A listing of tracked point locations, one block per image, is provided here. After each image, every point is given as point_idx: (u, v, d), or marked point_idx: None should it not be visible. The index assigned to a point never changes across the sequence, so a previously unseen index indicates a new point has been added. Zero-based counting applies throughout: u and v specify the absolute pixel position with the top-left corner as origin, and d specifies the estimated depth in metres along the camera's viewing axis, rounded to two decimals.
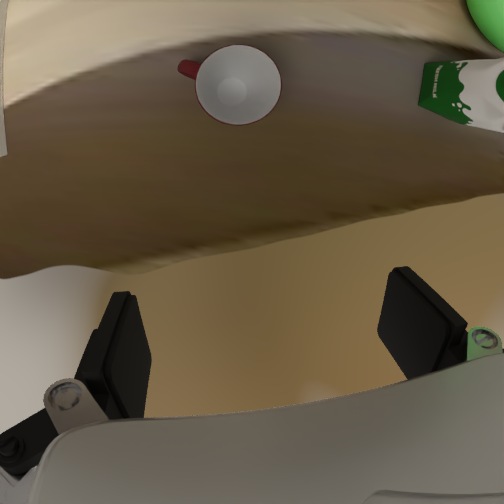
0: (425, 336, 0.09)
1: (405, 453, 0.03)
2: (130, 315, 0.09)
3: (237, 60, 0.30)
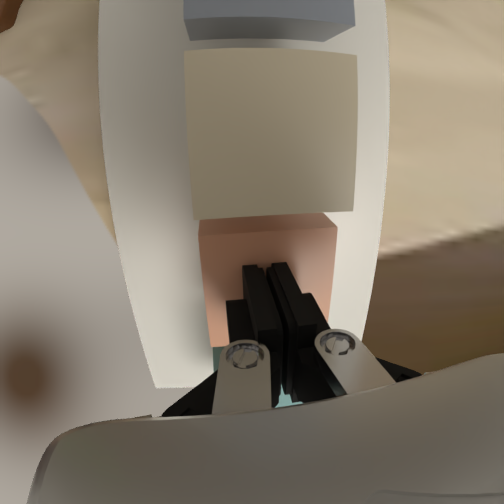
0: None
1: (405, 453, 0.03)
2: None
3: None
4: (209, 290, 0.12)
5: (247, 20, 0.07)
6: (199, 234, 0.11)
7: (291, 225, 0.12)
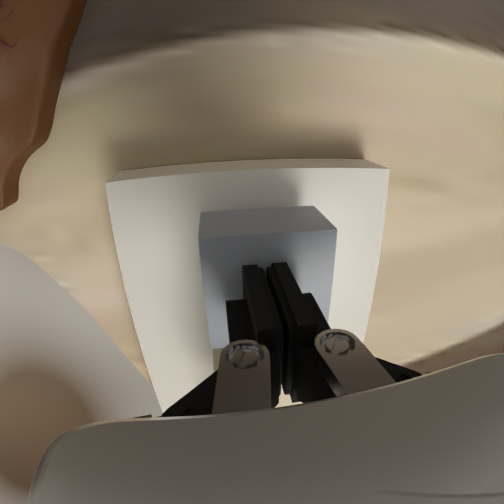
0: None
1: (405, 453, 0.03)
2: None
3: None
4: None
5: None
6: None
7: None
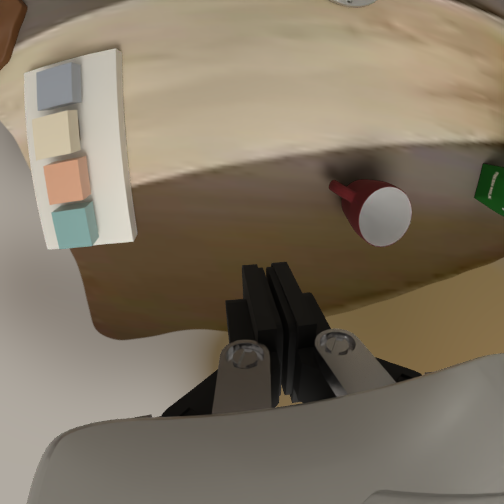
0: None
1: (405, 453, 0.03)
2: None
3: None
4: (47, 183, 0.33)
5: (51, 107, 0.30)
6: (44, 166, 0.32)
7: (66, 161, 0.33)
